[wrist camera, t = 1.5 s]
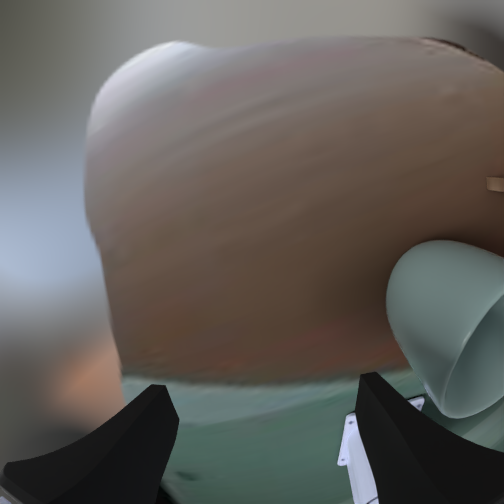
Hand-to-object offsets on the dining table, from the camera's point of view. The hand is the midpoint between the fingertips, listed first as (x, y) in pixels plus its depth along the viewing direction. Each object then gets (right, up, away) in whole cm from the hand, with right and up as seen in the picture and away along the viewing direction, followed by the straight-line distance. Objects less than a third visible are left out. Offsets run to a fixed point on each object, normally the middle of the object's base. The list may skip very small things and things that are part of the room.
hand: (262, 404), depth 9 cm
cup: (+12, +3, +8) cm, 15 cm away
